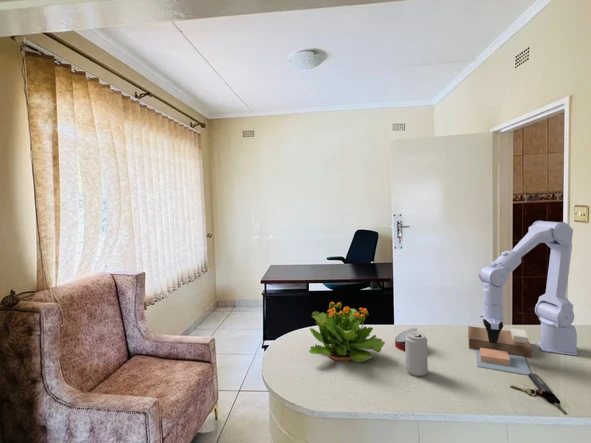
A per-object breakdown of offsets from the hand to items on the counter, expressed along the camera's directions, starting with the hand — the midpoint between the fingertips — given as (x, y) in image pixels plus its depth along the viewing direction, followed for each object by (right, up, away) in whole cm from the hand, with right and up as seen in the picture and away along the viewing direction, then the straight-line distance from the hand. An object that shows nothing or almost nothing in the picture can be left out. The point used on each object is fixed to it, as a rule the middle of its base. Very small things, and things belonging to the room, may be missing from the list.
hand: (492, 342), depth 110 cm
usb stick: (+3, -6, -17) cm, 19 cm away
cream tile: (+12, 0, +4) cm, 12 cm away
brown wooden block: (+6, -4, +7) cm, 10 cm away
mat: (0, -5, -4) cm, 6 cm away
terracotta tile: (-2, -2, -3) cm, 4 cm away
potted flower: (-51, -6, +5) cm, 52 cm away
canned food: (-25, -5, +9) cm, 28 cm away
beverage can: (-28, -6, -8) cm, 30 cm away
